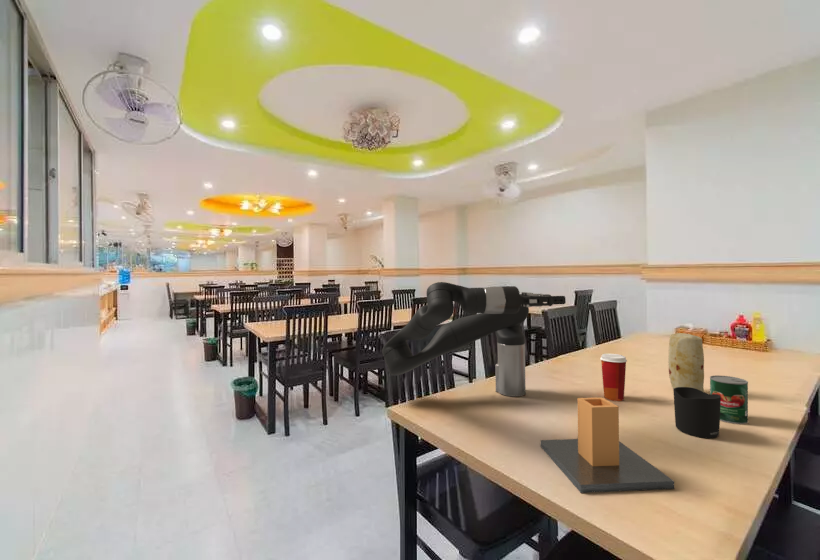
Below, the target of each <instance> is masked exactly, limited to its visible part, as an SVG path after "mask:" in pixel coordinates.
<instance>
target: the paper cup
mask: <svg viewBox="0 0 820 560" xmlns="http://www.w3.org/2000/svg"><path fill="white" fill-rule="evenodd" d="M599 359H600V361H601V374H602V375H601V377H602V386H603V396H604V397H603V398H604V399H606V400H608V401H611V402H612V401H613V402H622V401H624V399H625V386H626V371H627V370H626V369H627V368H626V367H627V362H628V359H627V357H626V356H624V355H623V354H618V353H603V354H601V356H600V358H599Z"/></svg>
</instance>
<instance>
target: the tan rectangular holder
mask: <svg viewBox="0 0 820 560" xmlns="http://www.w3.org/2000/svg"><path fill="white" fill-rule="evenodd" d="M619 408H620V406H618V405H616V404H615V403H613V402H612V401H611V400H608V399H606V398H605V397H601V396H600V397H577V439H578V453H579V454H580V455H581V456H582V457H583V458H584V459H585V460H586V461H587V462H589V463H590V464H591V465H592V466H614V465H619V441H620V424H619V423H620V415H619V414H620V412H619V410H620V409H619Z"/></svg>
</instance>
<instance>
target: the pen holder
mask: <svg viewBox="0 0 820 560" xmlns="http://www.w3.org/2000/svg"><path fill="white" fill-rule="evenodd" d="M672 391H673V392H672V393H673V405H674V406H673V407H674V410H673V411H674V422H675V428H676V429H677V430H678V431H679V432H681V433H682V434H685V435H689V436H691V437H692V436H693V437H695V438H699V439H700V438H701V439H716V438H717V437H719V436H720V426H721V421H720V405H721V396H720V395H718V394H710V393H707V392H705V391H704V392H702V391H700V390H698V389H695V388H691V387H676V388H674V389H673V388H672Z"/></svg>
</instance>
